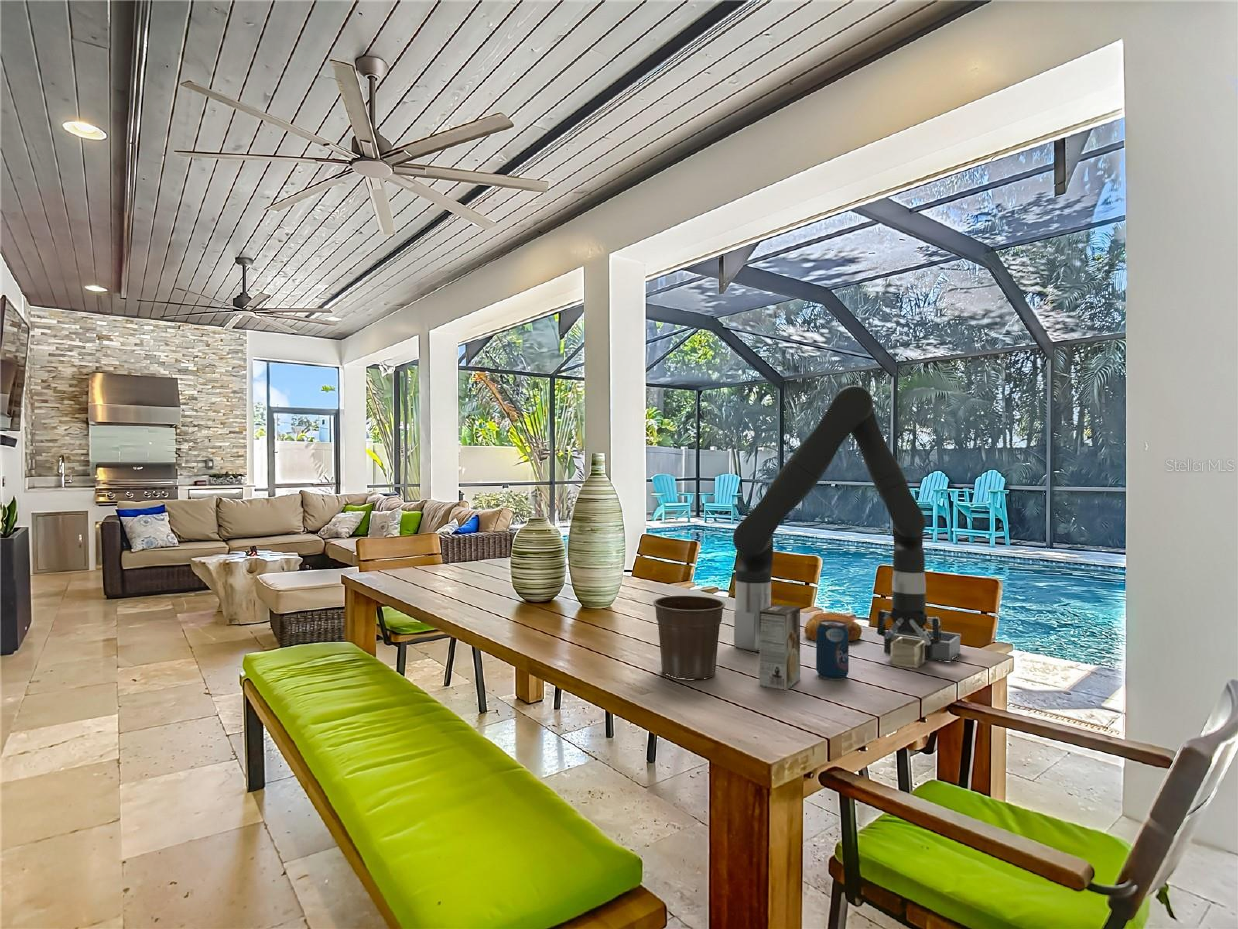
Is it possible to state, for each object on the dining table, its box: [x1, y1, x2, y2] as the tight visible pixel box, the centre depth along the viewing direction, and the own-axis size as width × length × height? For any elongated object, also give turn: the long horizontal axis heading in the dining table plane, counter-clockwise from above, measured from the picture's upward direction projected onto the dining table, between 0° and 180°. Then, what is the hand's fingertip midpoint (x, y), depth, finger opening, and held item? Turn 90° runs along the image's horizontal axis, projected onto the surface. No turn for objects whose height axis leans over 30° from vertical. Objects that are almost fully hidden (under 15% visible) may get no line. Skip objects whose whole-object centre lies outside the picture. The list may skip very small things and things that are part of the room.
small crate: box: [890, 637, 926, 669], centre depth 163 cm, size 8×6×5 cm
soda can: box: [815, 620, 850, 681], centre depth 151 cm, size 7×7×12 cm
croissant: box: [804, 612, 863, 642], centre depth 188 cm, size 14×16×8 cm
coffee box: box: [758, 604, 801, 691], centre depth 146 cm, size 9×6×16 cm
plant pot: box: [652, 595, 726, 680], centre depth 153 cm, size 16×16×16 cm
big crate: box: [883, 628, 962, 662], centre depth 172 cm, size 12×16×5 cm
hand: (908, 657), depth 163 cm, fingers open, 8 cm apart
